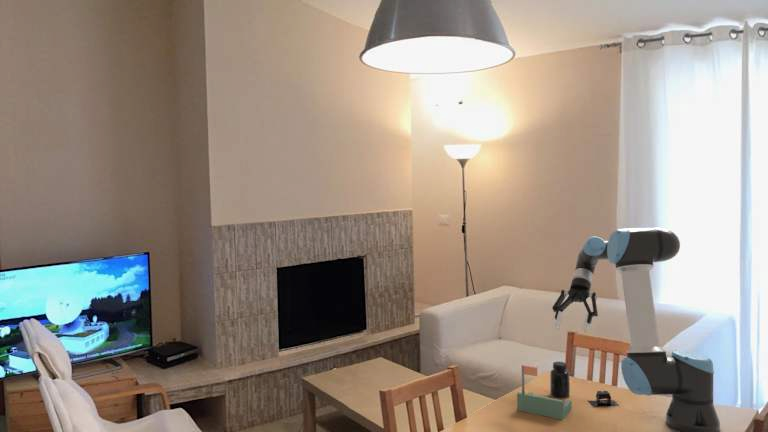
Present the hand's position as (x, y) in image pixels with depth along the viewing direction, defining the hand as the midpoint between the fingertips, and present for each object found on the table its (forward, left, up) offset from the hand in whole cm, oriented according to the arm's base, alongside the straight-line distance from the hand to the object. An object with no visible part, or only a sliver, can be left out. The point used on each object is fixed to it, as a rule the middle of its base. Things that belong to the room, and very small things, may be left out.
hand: (570, 328), depth 222 cm
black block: (-20, +8, -23) cm, 31 cm away
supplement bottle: (-5, +13, -22) cm, 26 cm away
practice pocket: (-10, +28, -22) cm, 37 cm away
